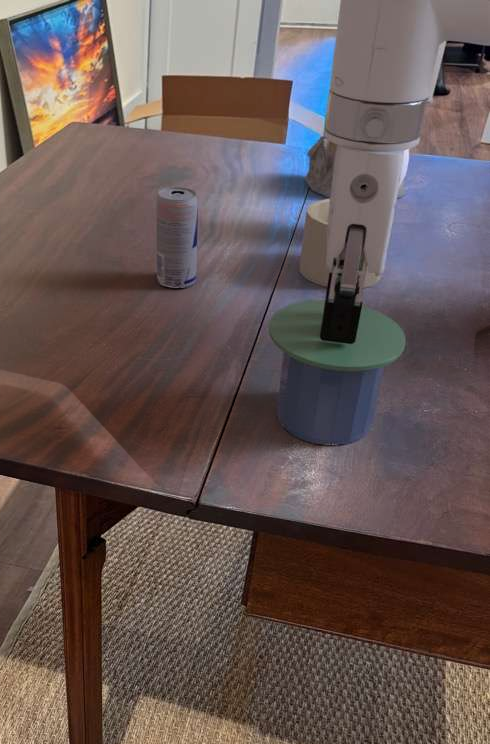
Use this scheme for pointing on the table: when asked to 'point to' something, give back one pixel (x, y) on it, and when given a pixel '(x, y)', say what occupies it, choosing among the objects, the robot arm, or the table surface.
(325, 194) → the ceramic cottage
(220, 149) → the table surface
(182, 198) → the energy drink
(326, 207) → the tin
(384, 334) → the tin lid
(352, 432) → the tumbler
